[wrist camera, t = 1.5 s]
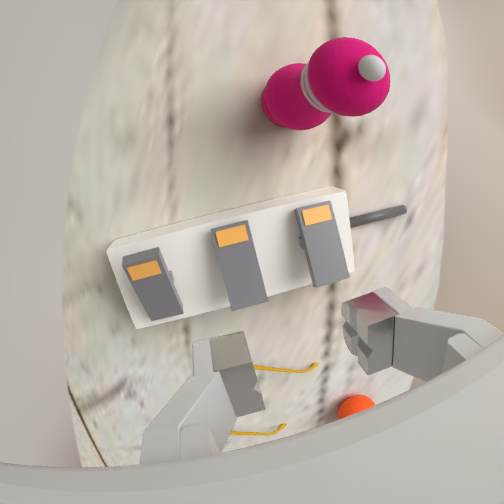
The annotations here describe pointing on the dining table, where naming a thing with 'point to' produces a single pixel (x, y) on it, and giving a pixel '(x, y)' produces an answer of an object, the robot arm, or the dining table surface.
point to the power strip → (206, 261)
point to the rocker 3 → (321, 243)
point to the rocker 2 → (239, 265)
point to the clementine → (354, 405)
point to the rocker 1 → (153, 283)
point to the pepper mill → (327, 85)
